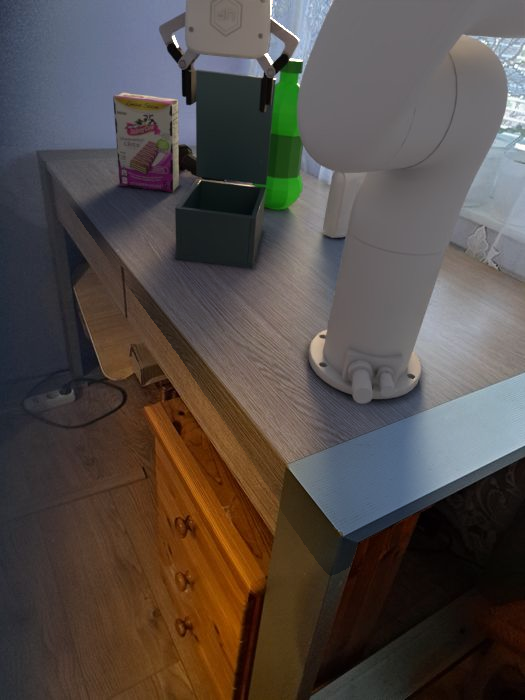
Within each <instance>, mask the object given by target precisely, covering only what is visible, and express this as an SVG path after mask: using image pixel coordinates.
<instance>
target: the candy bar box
mask: <svg viewBox="0 0 525 700" xmlns="http://www.w3.org/2000/svg"><path fill="white" fill-rule="evenodd" d="M112 100H113V101H112V102H113V114H114V128H115V139H116V153H117V166H118V178H119V179H118V180H119V186H120V187H121V186H122V187H130V188H136V189H143V190H144V189H145V190H151V191H152V190H153V191H159V192H167V193H174V192H175V191H176V189H177V188H178V187H179V185H180V173H179V172H180V171H179V147H178V145H180V144H179V143H180V142H179V100H178V99H176V98H175V99H174V98H169V97H168V98H167V97H160V96H154V95H153V96H152V95H146V94H145V95H144V94H137V93H129V92H120V93H117V94H115V95H113V97H112Z"/></svg>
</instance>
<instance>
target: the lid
mask: <svg viewBox="0 0 525 700" xmlns="http://www.w3.org/2000/svg"><path fill="white" fill-rule="evenodd" d="M195 70H196V102H195V149H196V150H195V152H196V153H195V157H196V176H195V177H196V178H201V177H204V178H212V179H220V180H225V181H229V182H238V183H247V184H252V183H254V184H262V185H266V184H267V174H268V163H269V151H270V140H271V129H272V117H273V106H274V94H275V85H276V84H277V82H276V81H277V78H275V77H274V81H273V94H272V104H271V105H267V109H266V111H265V113H262V112H261V111H259V105H260V89H261V78H262V77H263V76H258V75H257V76H256V75H249V74H240V73H231V72H222V71H212V70H203V69H195Z"/></svg>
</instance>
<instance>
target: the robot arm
mask: <svg viewBox="0 0 525 700" xmlns="http://www.w3.org/2000/svg"><path fill="white" fill-rule="evenodd" d="M272 4H273V0H185V11H184V12H182V13H181V14H178V15H177V16H175V17H174V18H172V19H169V20H167V21H166V22H164V23H162V24H160V25H159V27H158V32H159V34H160V36H161V38H162V41H163V43H164V45H165V47H166V50H167V52H168V54H169V55H170V57H171V58H172V59H173V60H174V62H175V63H176V64H177V66H178V68H179V69H180V70H181V96H182V98H185V105H186V106H192V105H193V104H196V70H197V69H196V68H194V66H195V65H194V64H195V62H196V61H197V60H198V58H199V57H200V56H201V55H203V56H212V57H220V58H221V57H223V58H232V59H244V60H256V61H257V63H258V65H259V66H260V68H261V69H262V71H263V76H261V77H262V78H261V89H260V105H259V111H261V112H262V113H265V111H266V109H267V105H271V104H272V94H273V81H274V78H275V76H276V75H277V74H278V73H280V70H281V69H282V68H283V67H284V66H285V65H286V64H287V63H288V62H289V60H290V58H291V59H292V56H293V55H294V53H295V51H296V49H298V48H297V47H298V46H299V43H300V39H299V38H298V37H297V36H296V35H294V33H292V32H291V31H289V30H288V29H286V28H285V27H284V26H283V25H281V24H280V23H278V21H276V20H275V19H273V18H272V12H273V11H272V10H273V9H272V7H273V5H272ZM183 28H184V41H185V46H186V48H187V49H186V51H184V50H183V49H182V48H181V47H180V45H179V44H178V42H177V39H176V37H175V33H177V32H178V31H180V30H182V29H183ZM272 35H274V36H275V37H276V38H278V39H279V40H280V41H281V42H283V43H284V48H283V50H282V51H281V53H280V55H279V57H278V58H276V59H275V60H274V61H273V60H272V59H271V57H270V56H269V54H268V53H269V51H270V46H271V39H272V37H271V36H272ZM472 36H473V37H472ZM474 37H484V38H485V37H486V38H497V39H525V0H332V1H331V3H330V6H329V8H328V10H327V13H326V15H325V17H324V19H323V22H322V24H321V27H320V29H319V31H318V34H317V36H316V38H315V41H314V43H313V46H312V48H311V51H310V53H309V56H308V59H307V61H306V64H305V67H304V69H303V70H304V71H303V72H302V76H301V80H300V84H299V85H300V88H299V94H298V102H297V124H298V131H299V135H300V138H301V141H302V143H303V149H304V150H305V151H306V153H307V154H308V156H309V157H310V158H311V159H312V160H314V162H315V163H316V164H318V165H320V166H322V167H323V168H325V169H327V170H330V171H333V172H334V171H337V172H343V173H362V172H367V173H366V175H365V176H364V178H363V180H362V182H361V184H360V186H359V189H358V191H357V194H356V196H355V199H354V202H353V205H352V209H351V213H350V218H349V223H348V228H347V233H346V237H345V238H344V243H343V248H342V253H341V258H340V264H339V268H338V274H337V279H336V284H335V287H334V288H335V289H334V293H333V298H332V299H333V300H332V304H331V308H330V314H329V319H328V324H327V328H326V329H325V330H322V331H320V332H319V333H317V334H316V335H315V336H314V337H313V339H311V342H310V344H309V348H308V362H309V364H310V366H311V367H310V368H311V369H312V370H313V371H314V373H315V374H316V375H317V376H318V377H319V378H320V379H321V380H322V381H323V382H325V383H326V384H327V385H329V386H331V387H332V388H334V389H336V390H338V391H340V392H343V393H346V394H348V395H350V396H352V398H353V401H354V402H356V403H357V404H368V403H370V402H371V401H372V400H389V399H393V398H399V397H402V396H404V395H406V394H408V393H410V392H412V390H414V389H415V388H416V386H417V385H418V383H419V380H420V378H421V375H422V370H423V369H422V363H421V361H420V359H419V357H418V355H417V354H416V352H415V351H414V349H415V346H416V343H417V341H418V337H419V334H420V331H421V329H422V325H423V322H424V320H425V316H426V312H427V310H428V307H429V303H430V300H431V298H432V294H433V291H434V289H435V286H436V283H437V280H438V277H439V273H440V271H441V268H442V264H443V262H444V259H445V256H446V252H447V250H448V247H449V246H450V242H451V239H452V236H453V234H454V232H455V231H454V230H455V227H456V224H457V222H458V219H459V216H460V213H461V211H462V208H463V205H464V203H465V201H466V198H467V196H468V193H469V191H470V189H471V186H472V185H473V183H474V180H475V178H476V176H477V175H478V172H479V170H480V168H481V167H482V165H483V163H484V161H485V159H486V158H487V156H488V154H489V152H490V150H491V148H492V146H493V144H494V142H495V140H496V138H497V135H498V133H499V132H500V129H501V127H502V123H503V120H504V117H505V114H506V110H507V105H508V98H509V96H508V95H509V87H508V86H509V85H508V84H509V83H508V78H507V73H506V70H505V68H504V64H503V63H502V61H501V59H500V58H499V56H498V55H497V54H496V52H494V50H493V49H492V48H491V47H489V46H488V45H487V44H486V43H485V42H482V41H480V40H478V39H476V38H474Z"/></svg>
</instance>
